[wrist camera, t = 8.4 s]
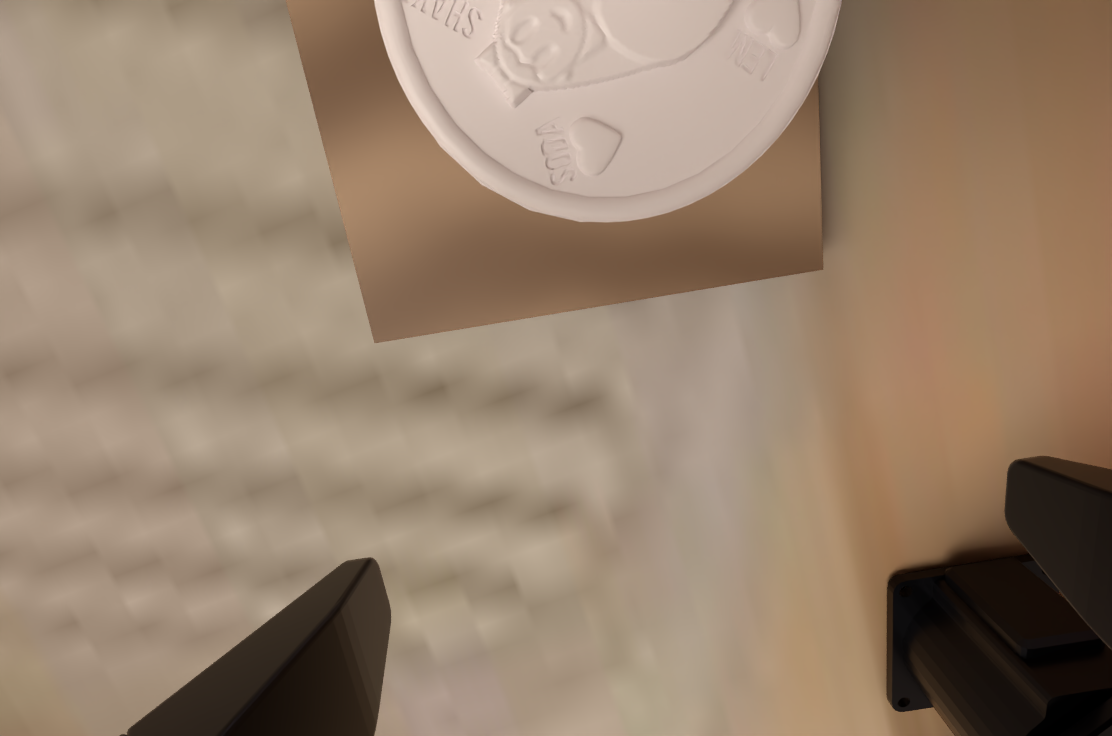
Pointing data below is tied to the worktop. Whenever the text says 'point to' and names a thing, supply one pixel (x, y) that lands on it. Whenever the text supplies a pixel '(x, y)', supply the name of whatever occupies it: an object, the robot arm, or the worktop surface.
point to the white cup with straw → (606, 93)
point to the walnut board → (522, 208)
